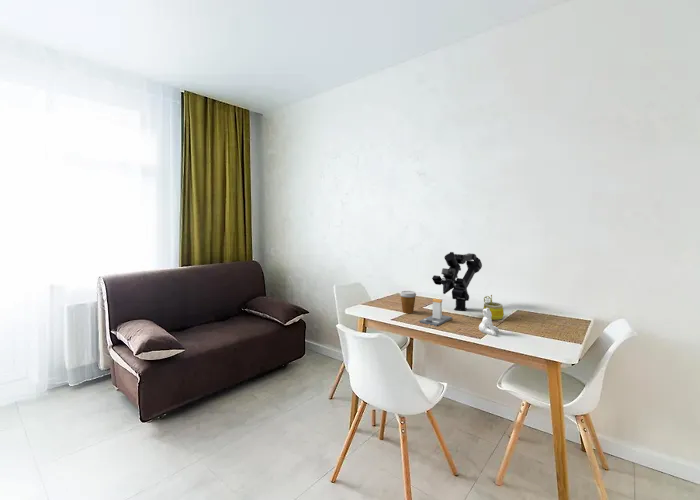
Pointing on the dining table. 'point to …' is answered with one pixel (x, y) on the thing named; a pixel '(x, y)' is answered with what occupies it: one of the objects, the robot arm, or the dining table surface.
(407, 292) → the disposable coffee cup
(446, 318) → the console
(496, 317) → the yellow round tub
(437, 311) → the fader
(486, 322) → the seated beast figurine
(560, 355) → the dining table surface
